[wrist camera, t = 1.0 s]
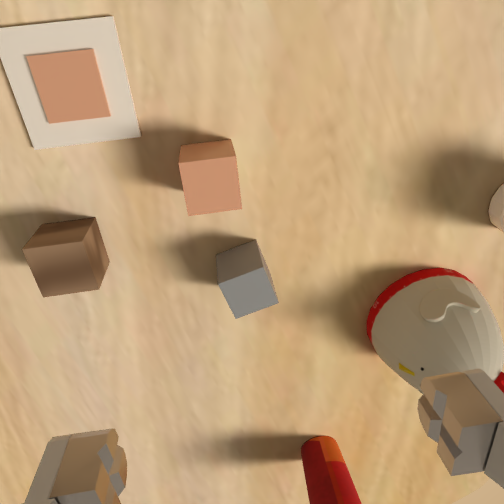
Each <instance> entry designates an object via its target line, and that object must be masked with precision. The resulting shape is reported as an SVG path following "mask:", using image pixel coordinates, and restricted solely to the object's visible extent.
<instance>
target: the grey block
mask: <svg viewBox="0 0 504 504" xmlns="http://www.w3.org/2000/svg"><path fill="white" fill-rule="evenodd" d="M216 264H217V278H218V285H219V287H220V289H221V291H222V293H223V295H224V297H225V299H226V301H227V303H228V305H229V307H230V309H231V310H232V312H233V314H234V316H235V318H236V319H237V318H239V317H242V316H245V315H248V314H250V313H253V312H256V311H258V310H261V309H264V308H267V307H269V306H272V305H275V304H277V303H279V302H278V299H277V295H276V292H275V288H274V285H273V281H272V278H271V275H270V272H269V269H268V267H267V265H266V262H265V260H264V257H263V255H262V253H261V250H260V248H259V245H258V243H257V241H256V240H253V241H251V242H248V243H246V244H243V245H240V246H238V247H235V248H233V249H230V250H227V251H225V252H222V253H220V254H217V255H216Z"/></svg>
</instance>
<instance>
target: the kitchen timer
mask: <svg viewBox="0 0 504 504" xmlns="http://www.w3.org/2000/svg"><path fill="white" fill-rule="evenodd" d="M367 335H368V337H369V339H370V341H371V343H372V345H373V347H374V349H375V351H376V352H377V354H378V355H379V357H380V358H381V359H382V360H383V361H384V362H385V363H386V364H387V365H388V366H389V367H390V368H391V369H393V370H394V371H395V372H396V373H397V374H398V375H399V376H401V377H402V378H403V379H404V380H405V381H406V382H408V383H409V384H410V385H412V386H413V387H415V388H416V389H418V390H419V391H420V392H421V393H422V394H424V393H423V392H422V390H421V388H420V386H421V381H422V380H423V378H424V377H430V376H436V375H441V374H447V373H453V372H461V371H467V370H473V369H481V370H483V371H484V372H485V373H486V374H487V375H488V376H489V377H490V378H491V380H492V381H493V382H494V383H495V384H496V385H497V386H498V388H499V389H500V390H501V391H502V392H503V393H504V373H503V372H502V368H503V363H504V345H503V340H502V336H501V331H500V328H499V325H498V322H497V320H496V318H495V316H494V314H493V311H492V309H491V307H490V305H489V304H488V302H487V300H486V299H485V297H484V296H483V295H482V294H481V292H480V291H479V290H478V288H477V287H476V286H475V285H474V284H473V283H472V282H471V281H470V280H469V279H468V278H467V277H466V276H464V275H462V274H460V273H458V272H457V271H455V270H450V269H444V268H433V269H423V270H420V271H417V272H414V273H411V274H408V275H406V276H404V277H403V278H401V279H399V280H397V281H396V282H394V283H392V284H391V285H390V286H389V287H388V288H387V289H386V290H385V291H384V292H382V293H381V294H380V295H379V296H378V298H377V300H376V301H375V303H374V304H373V306H372V307H371V309H370V312H369V315H368V318H367Z"/></svg>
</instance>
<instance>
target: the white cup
mask: <svg viewBox="0 0 504 504" xmlns="http://www.w3.org/2000/svg"><path fill="white" fill-rule="evenodd" d="M488 213H489V217H490V221H491V223H492V224H493V225H495V226H496V227H497V228H498V229H499V230H501V231H502V232H503V233H504V183H503V184H502V185H501V186H500V187H499V189H498V190H497V191H496V193H495V194H494V196H493V197H492V199H491V202H490V206H489V210H488Z"/></svg>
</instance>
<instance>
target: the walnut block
mask: <svg viewBox="0 0 504 504" xmlns="http://www.w3.org/2000/svg"><path fill="white" fill-rule="evenodd" d="M22 251H23V253H24V255H25V258H26V260H27V262H28V264H29V267H30V269H31V271H32V273H33V276H34V278H35V280H36V282H37V285H38V287H39V289H40V291H41V294H42V296H43V297H49V296H56V295H63V294H70V293H77V292H84V291H91V290H99V288H100V286H101V283H102V280H103V278H104V275H105V273H106V270H107V267H108V265H109V262H110V261H109V258H108V255H107V252H106V249H105V246H104V243H103V240H102V236H101V233H100V230H99V227H98V224H97V221H96V218H95V217H94V218H87V219H79V220H72V221H64V222H56V223H49V224H42V225H41V226H40V228H39V229H38V230H37V231H36V233H35V234H34V235H33V236H32V238H31V239H30V240H29V241H28V243H27V244H26V245H25V246H24V247H23V249H22Z"/></svg>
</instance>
